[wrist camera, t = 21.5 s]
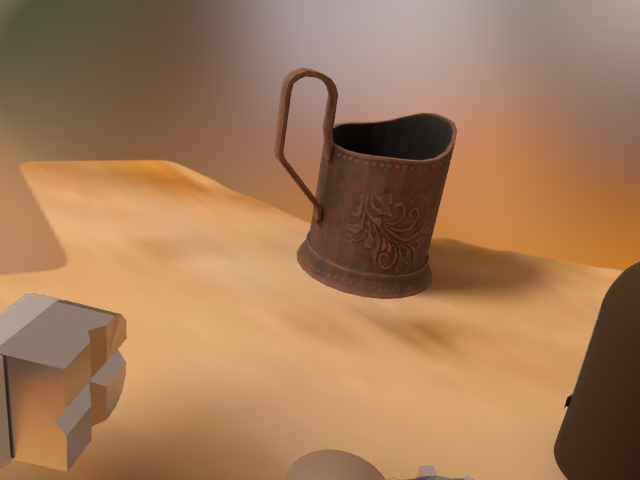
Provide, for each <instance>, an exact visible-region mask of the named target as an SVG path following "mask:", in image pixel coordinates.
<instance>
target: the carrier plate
mask: <svg viewBox="0 0 640 480" xmlns="http://www.w3.org/2000/svg"><path fill="white" fill-rule="evenodd" d="M391 480H398V479H396V478H394V477H393V478H392V479H391ZM408 480H474V479H472V478H470V477H469V476H466V478H463V479H450V478H446V477H441V476H437V474H436V472H435V470H434V467H433V466H420V467H419V471H418V474H417V478H415V479H408Z"/></svg>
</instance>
